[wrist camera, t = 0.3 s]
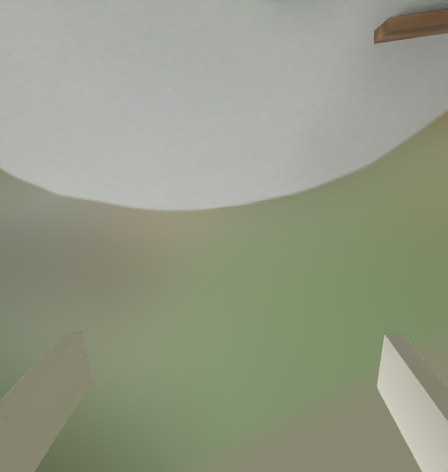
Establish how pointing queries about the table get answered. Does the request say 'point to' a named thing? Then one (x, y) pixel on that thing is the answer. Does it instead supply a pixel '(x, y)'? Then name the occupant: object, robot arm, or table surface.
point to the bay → (412, 26)
